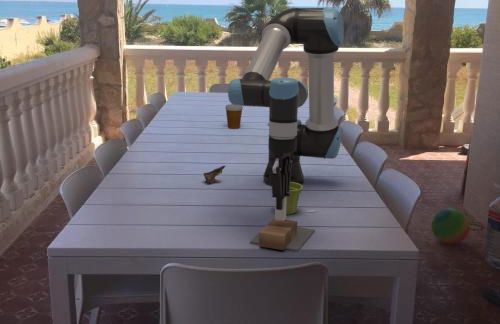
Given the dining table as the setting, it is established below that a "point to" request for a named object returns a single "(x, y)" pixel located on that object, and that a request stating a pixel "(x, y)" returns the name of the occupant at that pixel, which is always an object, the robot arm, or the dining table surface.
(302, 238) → the rubber mat
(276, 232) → the walnut block
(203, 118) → the dining table surface
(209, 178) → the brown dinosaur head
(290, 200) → the plant pot
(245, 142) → the dining table surface
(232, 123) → the disposable coffee cup
